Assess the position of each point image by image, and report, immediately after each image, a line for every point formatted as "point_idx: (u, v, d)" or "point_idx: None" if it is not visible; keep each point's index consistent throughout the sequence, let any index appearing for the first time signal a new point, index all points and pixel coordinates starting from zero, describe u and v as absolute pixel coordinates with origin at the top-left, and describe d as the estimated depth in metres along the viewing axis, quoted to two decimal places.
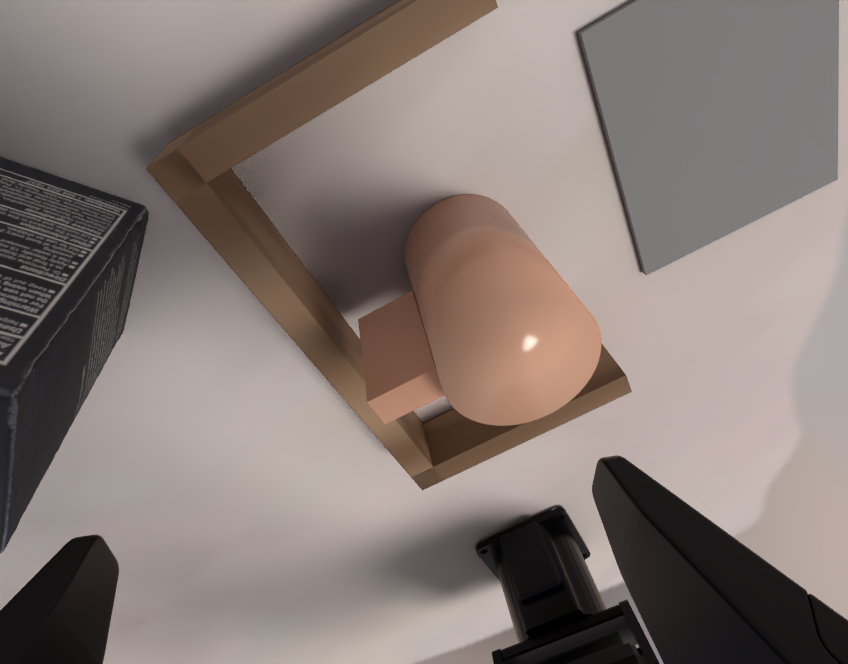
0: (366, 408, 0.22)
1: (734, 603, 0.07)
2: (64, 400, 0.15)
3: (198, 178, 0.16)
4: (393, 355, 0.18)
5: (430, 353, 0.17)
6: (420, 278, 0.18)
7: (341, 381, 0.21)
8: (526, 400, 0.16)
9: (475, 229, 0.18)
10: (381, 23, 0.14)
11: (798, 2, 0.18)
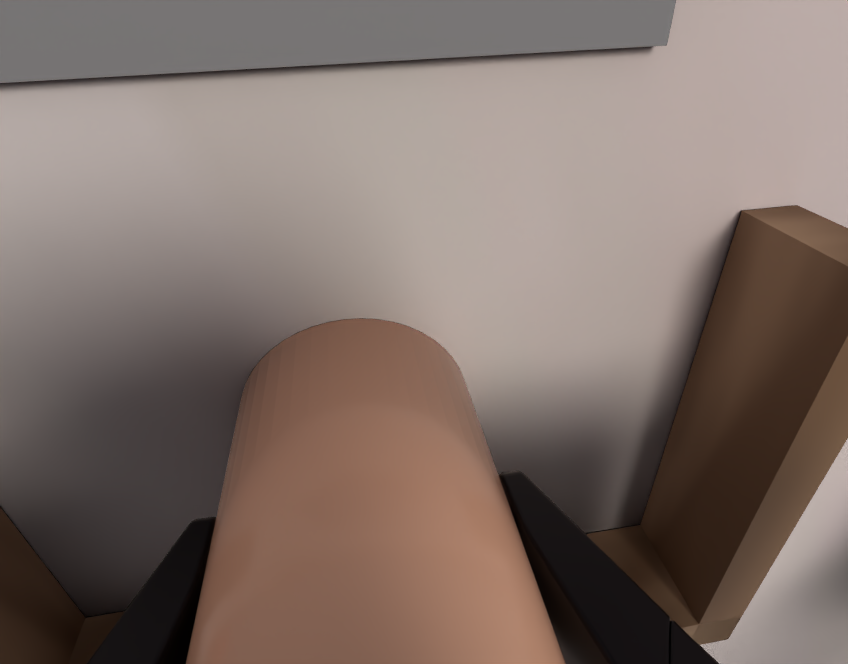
0: None
1: (593, 630, 0.06)
2: None
3: None
4: None
5: None
6: None
7: None
8: None
9: (211, 546, 0.08)
10: None
11: None
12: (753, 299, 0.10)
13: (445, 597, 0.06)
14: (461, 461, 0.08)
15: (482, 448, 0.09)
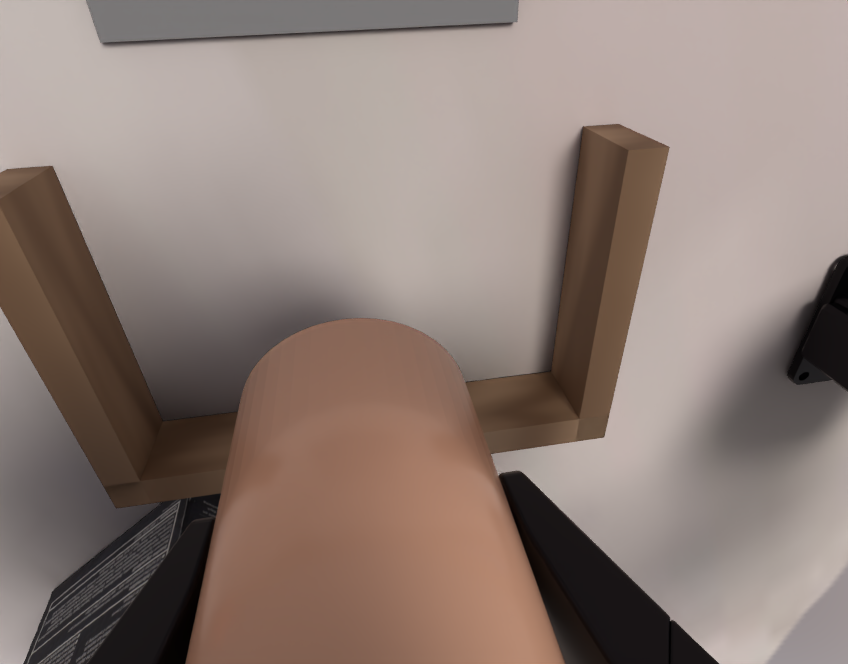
0: None
1: (593, 630, 0.06)
2: None
3: (134, 483, 0.18)
4: None
5: None
6: None
7: None
8: None
9: (210, 545, 0.08)
10: None
11: None
12: (590, 180, 0.17)
13: (445, 597, 0.06)
14: (460, 461, 0.08)
15: (482, 447, 0.09)
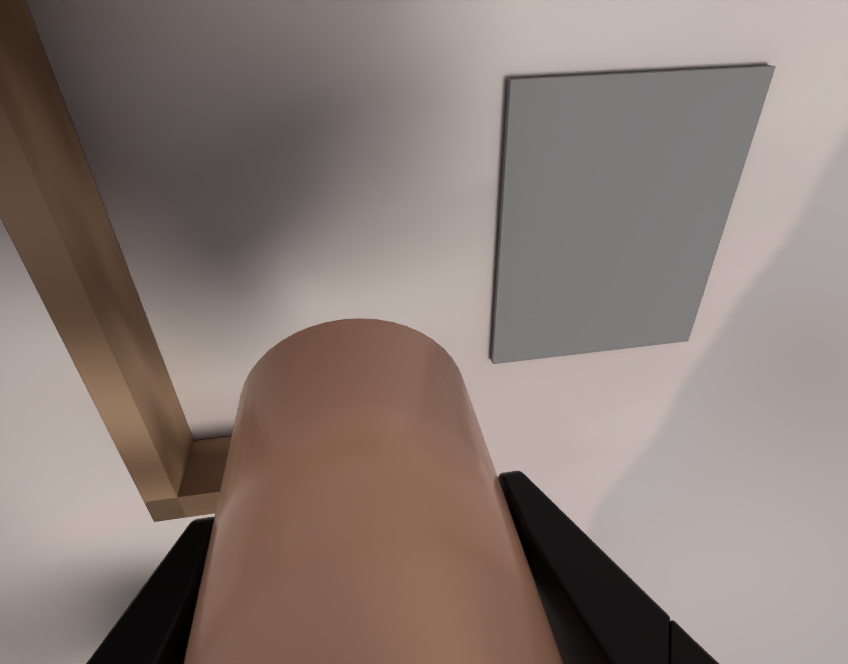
0: (108, 397, 0.17)
1: (593, 630, 0.06)
2: None
3: None
4: None
5: None
6: None
7: (83, 351, 0.16)
8: None
9: (209, 546, 0.08)
10: None
11: (709, 158, 0.18)
12: None
13: (444, 597, 0.06)
14: (459, 461, 0.08)
15: (481, 448, 0.09)
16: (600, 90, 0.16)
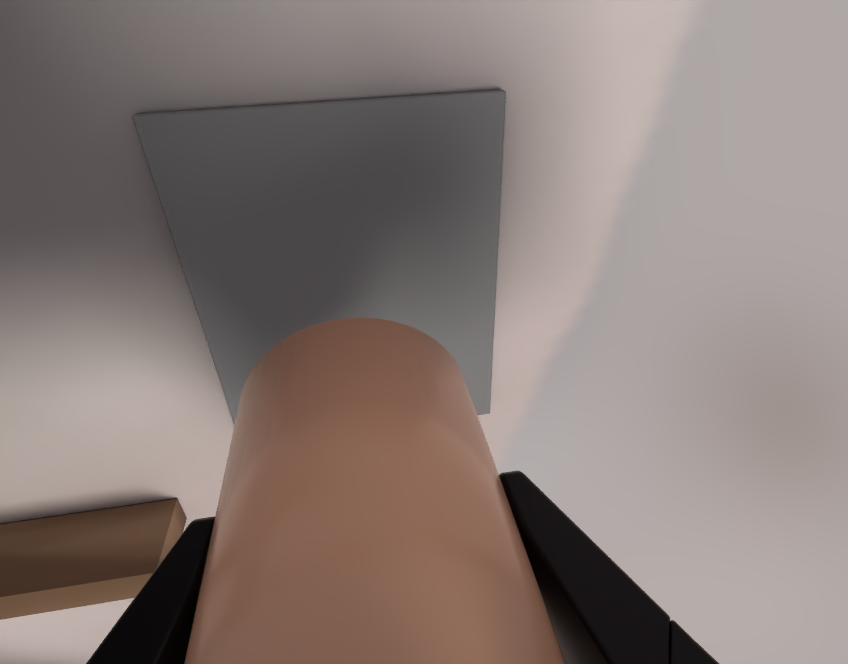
0: None
1: (593, 630, 0.06)
2: None
3: None
4: None
5: None
6: None
7: None
8: None
9: None
10: None
11: (450, 206, 0.14)
12: (128, 527, 0.18)
13: (446, 598, 0.06)
14: (460, 461, 0.08)
15: (482, 447, 0.09)
16: (267, 127, 0.13)
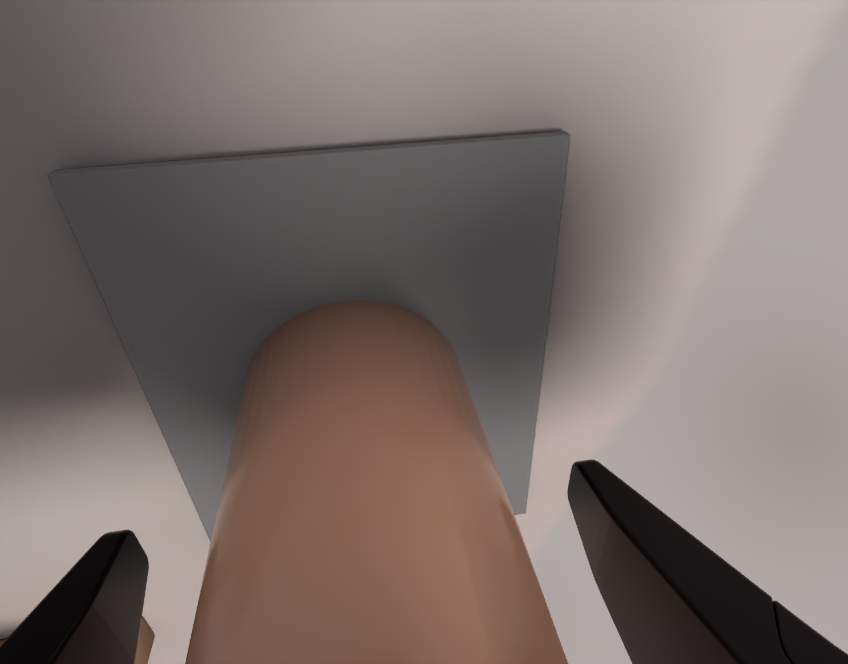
0: None
1: (698, 610, 0.07)
2: None
3: None
4: None
5: None
6: None
7: None
8: None
9: (218, 510, 0.09)
10: None
11: (488, 280, 0.11)
12: None
13: (436, 541, 0.06)
14: (452, 429, 0.08)
15: (474, 420, 0.09)
16: (241, 186, 0.09)
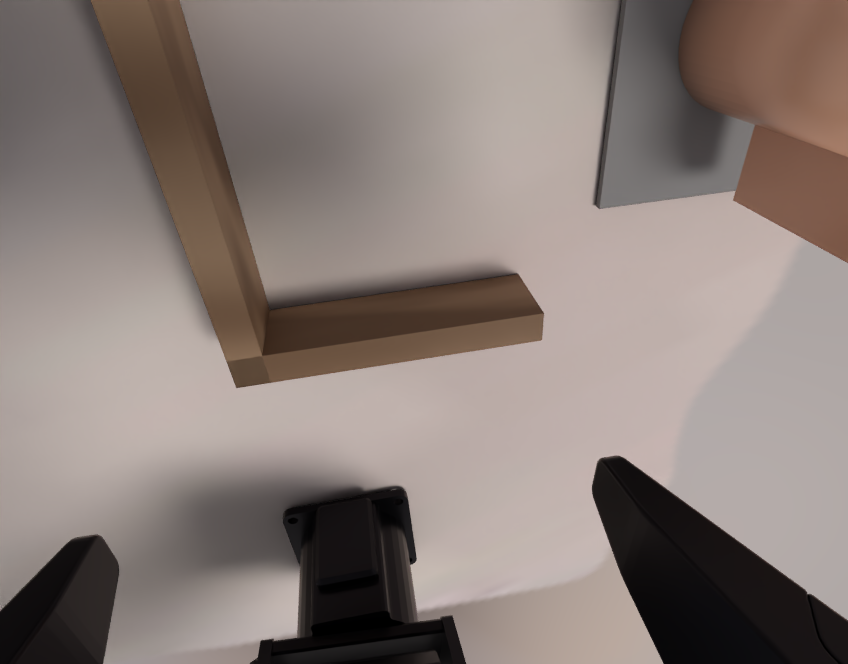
0: (191, 217, 0.15)
1: (734, 603, 0.07)
2: None
3: None
4: (822, 202, 0.14)
5: None
6: (760, 116, 0.15)
7: (164, 151, 0.14)
8: None
9: (764, 17, 0.13)
10: None
11: None
12: (490, 291, 0.20)
13: None
14: None
15: None
16: None
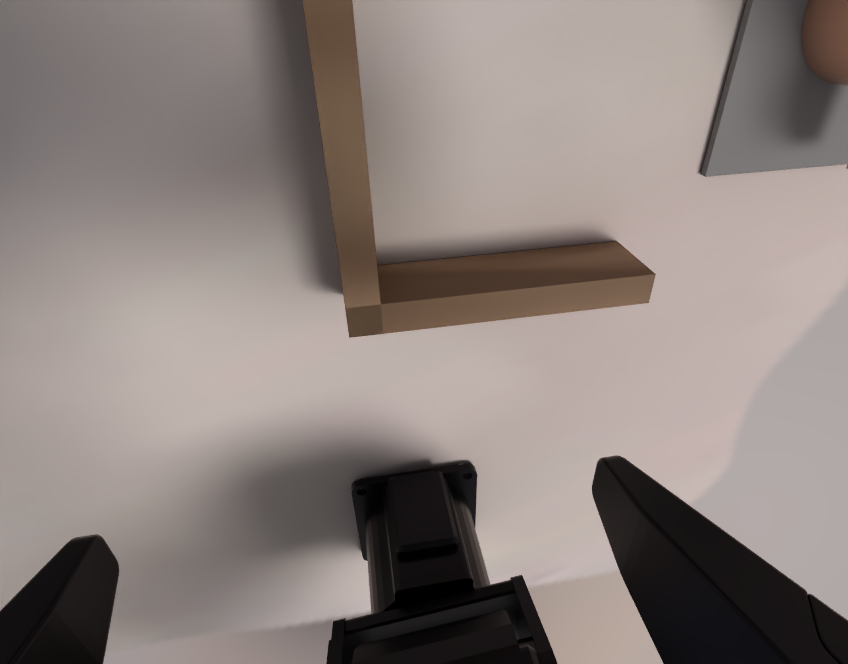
0: (341, 151, 0.15)
1: (734, 603, 0.07)
2: None
3: None
4: None
5: None
6: None
7: (329, 79, 0.14)
8: None
9: None
10: None
11: None
12: (594, 255, 0.20)
13: None
14: None
15: None
16: None
